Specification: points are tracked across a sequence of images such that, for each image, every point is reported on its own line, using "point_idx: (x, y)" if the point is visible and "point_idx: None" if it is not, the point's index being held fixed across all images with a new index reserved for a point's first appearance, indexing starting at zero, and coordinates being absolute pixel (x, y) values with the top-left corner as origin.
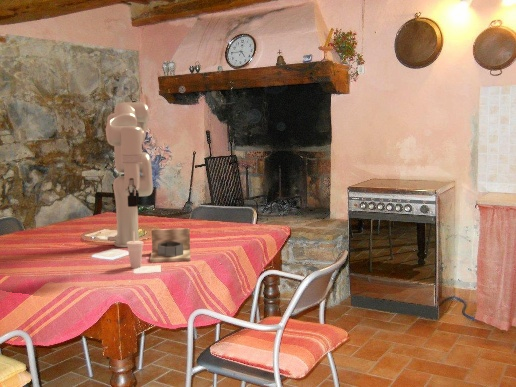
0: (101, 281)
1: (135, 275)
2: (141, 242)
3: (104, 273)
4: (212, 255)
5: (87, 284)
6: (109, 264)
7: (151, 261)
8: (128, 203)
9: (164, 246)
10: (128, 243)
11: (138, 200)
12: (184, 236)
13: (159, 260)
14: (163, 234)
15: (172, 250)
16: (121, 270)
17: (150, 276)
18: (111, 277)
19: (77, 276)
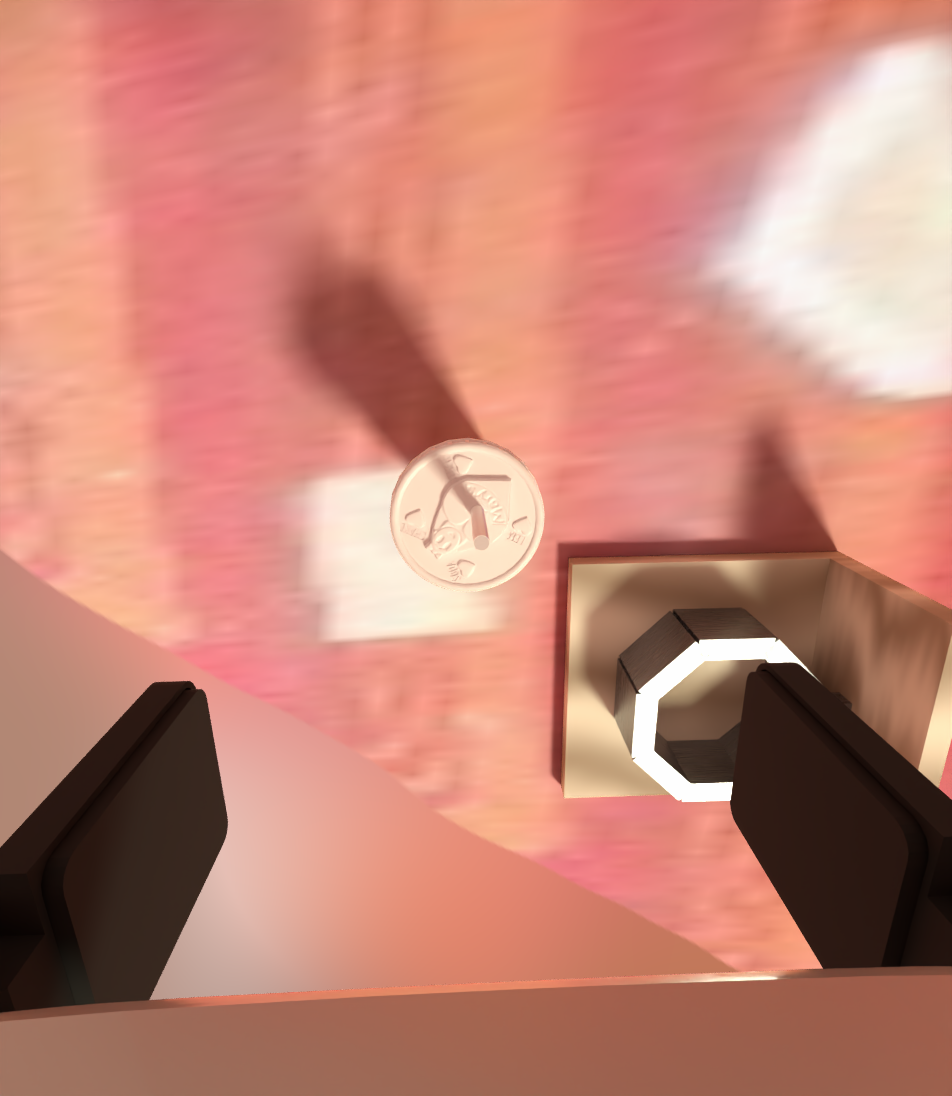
0: (106, 279)
1: (250, 495)
2: (462, 577)
3: (312, 266)
4: (657, 888)
5: (28, 183)
6: (568, 263)
7: (568, 568)
8: (128, 728)
9: (667, 687)
10: (434, 463)
11: (750, 845)
12: None
13: (568, 620)
14: (897, 699)
15: (626, 724)
16: (383, 384)
17: (224, 588)
18: (206, 337)
19: (239, 45)
